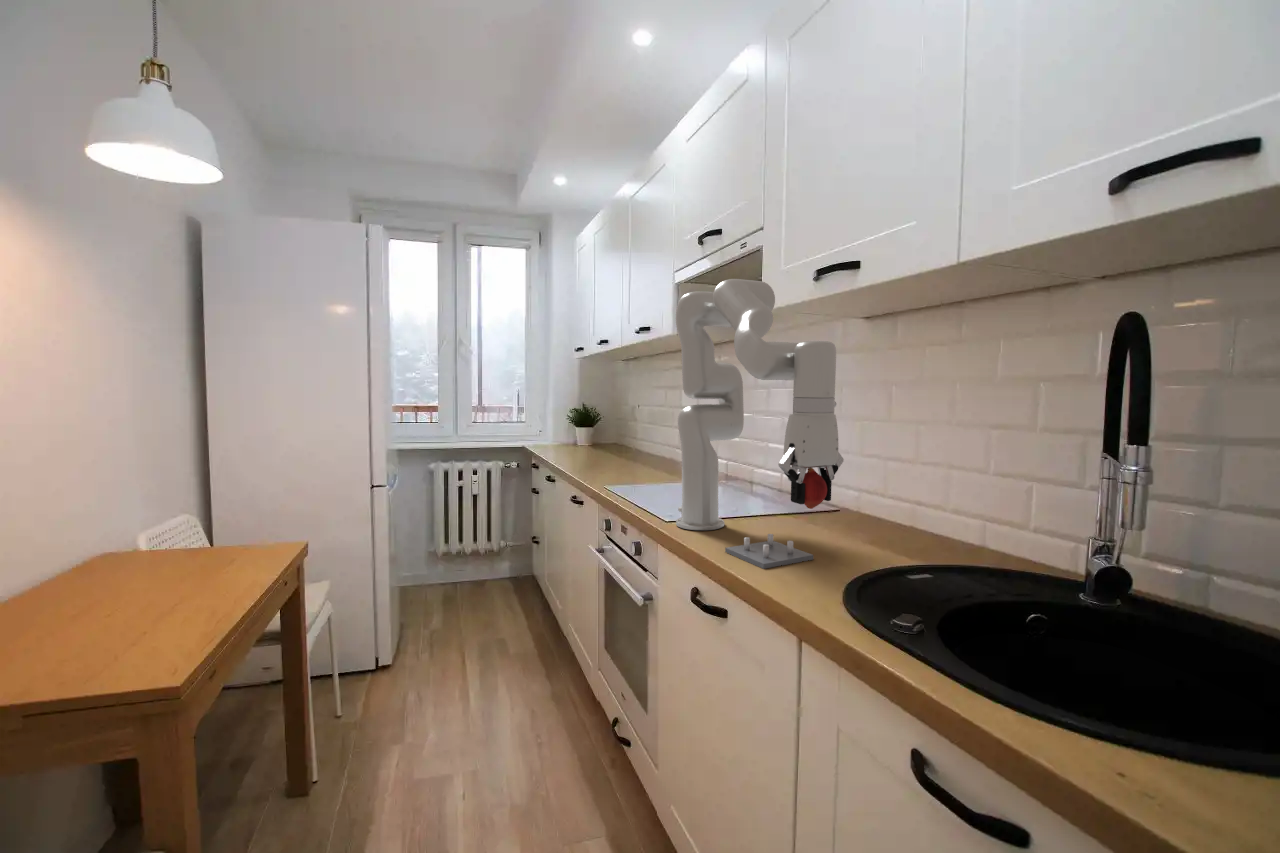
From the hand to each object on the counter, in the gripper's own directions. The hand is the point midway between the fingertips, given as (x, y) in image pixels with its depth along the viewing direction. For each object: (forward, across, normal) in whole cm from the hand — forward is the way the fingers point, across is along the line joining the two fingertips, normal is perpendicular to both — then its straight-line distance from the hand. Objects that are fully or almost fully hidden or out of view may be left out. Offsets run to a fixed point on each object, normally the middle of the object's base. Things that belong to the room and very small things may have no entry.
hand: (810, 500), depth 108 cm
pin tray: (+14, 0, -12) cm, 19 cm away
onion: (+2, 0, 0) cm, 2 cm away
